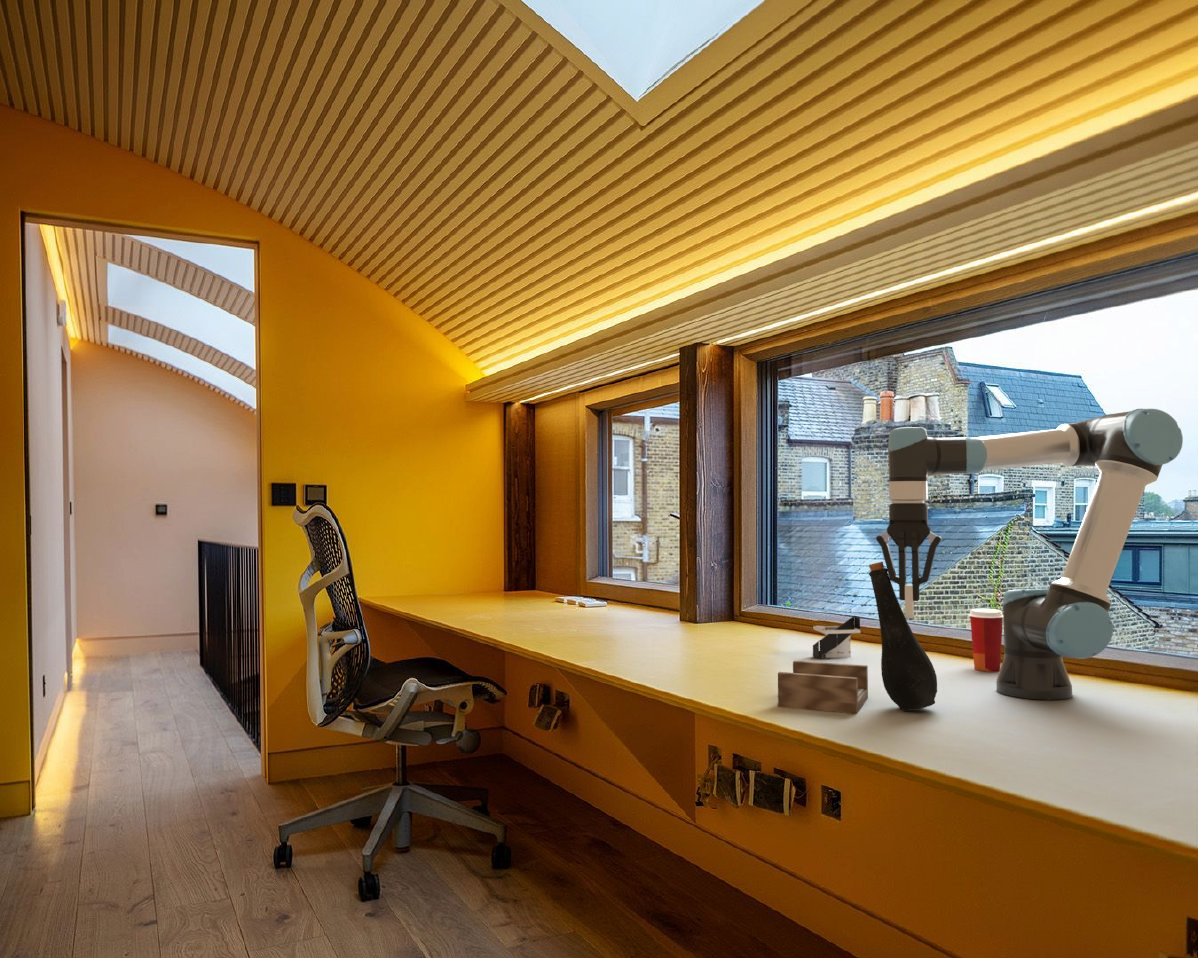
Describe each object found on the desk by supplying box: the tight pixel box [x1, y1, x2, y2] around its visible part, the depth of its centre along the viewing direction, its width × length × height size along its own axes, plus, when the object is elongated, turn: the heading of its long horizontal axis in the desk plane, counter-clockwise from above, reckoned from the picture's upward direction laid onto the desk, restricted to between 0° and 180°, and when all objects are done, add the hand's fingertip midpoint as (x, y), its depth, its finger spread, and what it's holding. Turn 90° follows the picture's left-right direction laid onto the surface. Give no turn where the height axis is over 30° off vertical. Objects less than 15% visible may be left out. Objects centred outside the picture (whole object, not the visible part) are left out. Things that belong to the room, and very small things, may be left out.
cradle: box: [777, 660, 869, 715], centre depth 189 cm, size 16×16×7 cm
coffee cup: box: [967, 608, 1004, 673], centre depth 224 cm, size 8×8×15 cm
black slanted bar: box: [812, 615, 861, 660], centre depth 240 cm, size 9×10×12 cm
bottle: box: [868, 561, 938, 711], centre depth 183 cm, size 11×11×30 cm
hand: (909, 616), depth 182 cm, fingers closed
